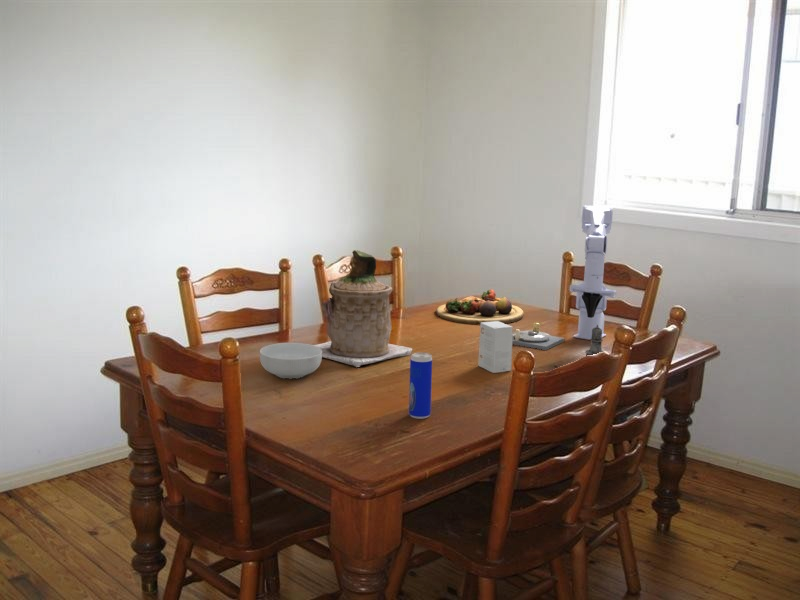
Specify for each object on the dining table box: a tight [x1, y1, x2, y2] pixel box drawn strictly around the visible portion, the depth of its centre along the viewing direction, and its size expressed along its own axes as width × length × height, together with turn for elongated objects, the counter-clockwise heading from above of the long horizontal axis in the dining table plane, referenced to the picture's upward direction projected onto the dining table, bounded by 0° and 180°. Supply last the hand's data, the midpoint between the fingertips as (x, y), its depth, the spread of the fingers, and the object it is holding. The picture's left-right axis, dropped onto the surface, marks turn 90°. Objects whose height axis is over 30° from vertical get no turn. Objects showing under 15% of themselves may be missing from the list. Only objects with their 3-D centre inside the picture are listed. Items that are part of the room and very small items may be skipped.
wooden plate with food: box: [435, 289, 525, 325], centre depth 311 cm, size 32×32×8 cm
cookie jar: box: [312, 249, 413, 368], centre depth 252 cm, size 25×25×32 cm
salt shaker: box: [584, 325, 604, 357], centre depth 249 cm, size 6×6×12 cm
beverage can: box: [408, 352, 433, 420], centre depth 201 cm, size 5×5×15 cm
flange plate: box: [513, 322, 551, 342], centre depth 274 cm, size 11×13×4 cm
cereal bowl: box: [259, 342, 323, 380], centre depth 232 cm, size 17×17×7 cm
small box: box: [477, 321, 514, 374], centre depth 242 cm, size 8×6×13 cm
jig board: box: [512, 328, 565, 351], centre depth 274 cm, size 14×16×5 cm
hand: (590, 317), depth 265 cm, fingers closed
